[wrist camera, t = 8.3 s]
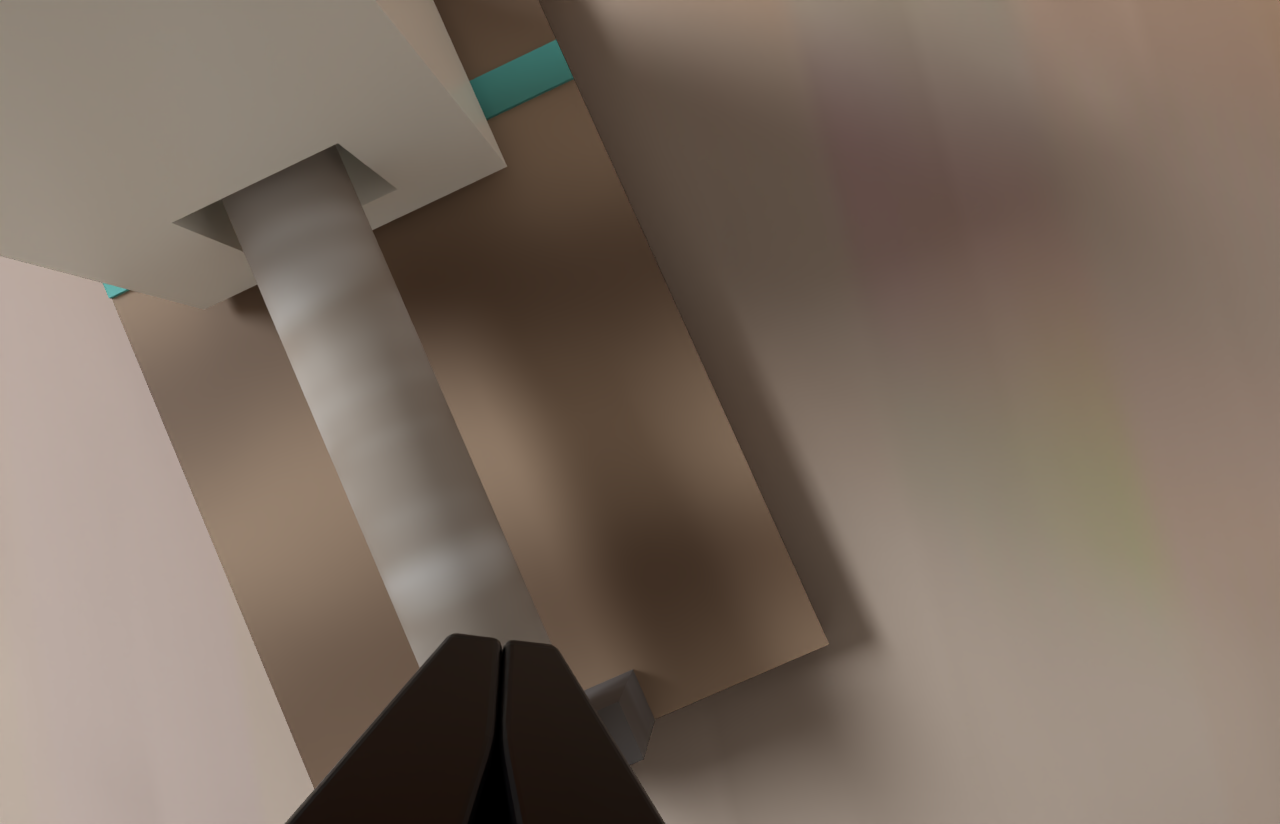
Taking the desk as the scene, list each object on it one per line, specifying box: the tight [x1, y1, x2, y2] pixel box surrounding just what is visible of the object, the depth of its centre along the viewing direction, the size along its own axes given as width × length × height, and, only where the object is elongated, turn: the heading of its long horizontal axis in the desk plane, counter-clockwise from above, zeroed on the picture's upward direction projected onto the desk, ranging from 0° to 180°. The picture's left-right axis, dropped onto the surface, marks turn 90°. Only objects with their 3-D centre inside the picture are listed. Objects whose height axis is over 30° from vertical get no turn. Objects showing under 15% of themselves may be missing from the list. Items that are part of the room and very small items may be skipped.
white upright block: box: [0, 0, 507, 309], centre depth 14 cm, size 4×6×11 cm, turn 114°
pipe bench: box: [103, 0, 829, 789], centre depth 19 cm, size 17×10×5 cm, turn 24°
